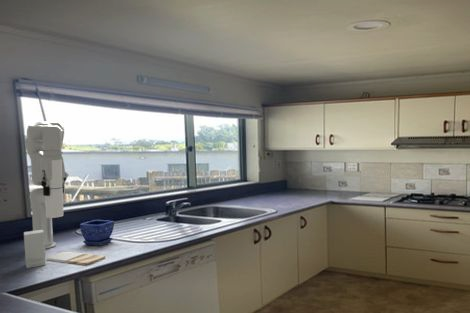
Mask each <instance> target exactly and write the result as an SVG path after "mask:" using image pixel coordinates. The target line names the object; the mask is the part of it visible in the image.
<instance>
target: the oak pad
mask: <svg viewBox="0 0 470 313" xmlns="http://www.w3.org/2000/svg"><path fill="white" fill-rule="evenodd" d="M83 254H84V255H81V256H79V257H76V258H73V259H71V260H68V261H67V262H66V263H68V264H74V265H82V266H87V265H88V266H90V265H92V264H95V263H97V262H99V260H100V261H102V260H104V258H105V259H106V255H99V254H92V253H91V254H90V253H83ZM94 262H95V263H94ZM89 264H90V265H89Z"/></svg>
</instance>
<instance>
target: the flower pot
mask: <svg viewBox="0 0 470 313" xmlns="http://www.w3.org/2000/svg"><path fill="white" fill-rule="evenodd" d="M114 226H115V221H114V220H104V219H93V220H90V221H86V222H85V221H84V222H82V223H80V224H79V228H80V233H81V235H82V237H83V239H84V240H83V244H85V245H87V246H97V247H99V246H103V245H105V244H108V243H111V242H112V241H113V239H114V238H113V237H111V236H112V234H113V230H114Z"/></svg>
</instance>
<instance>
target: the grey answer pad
mask: <svg viewBox="0 0 470 313" xmlns="http://www.w3.org/2000/svg"><path fill="white" fill-rule="evenodd" d="M84 254H85V253H83V252H74V251H63V252H60V253H58V254H54V255H51V256H49V257H46V260H47V261H52V262H58V263H59V262H60V263H67V261H68V260H71V259H73V258H76V257H79V256H81V255H84Z"/></svg>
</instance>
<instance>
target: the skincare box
mask: <svg viewBox="0 0 470 313" xmlns="http://www.w3.org/2000/svg"><path fill="white" fill-rule="evenodd" d="M23 242H24V243H23V244H24V256H25V257H24V259H25V266H26V267H25V268H26V269H31V268H35V267H41V266H46V265H47V264H46V252H45V251H46V249H45V246H44V232H43V230H36V231H33V230H30V231H24V232H23Z"/></svg>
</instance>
